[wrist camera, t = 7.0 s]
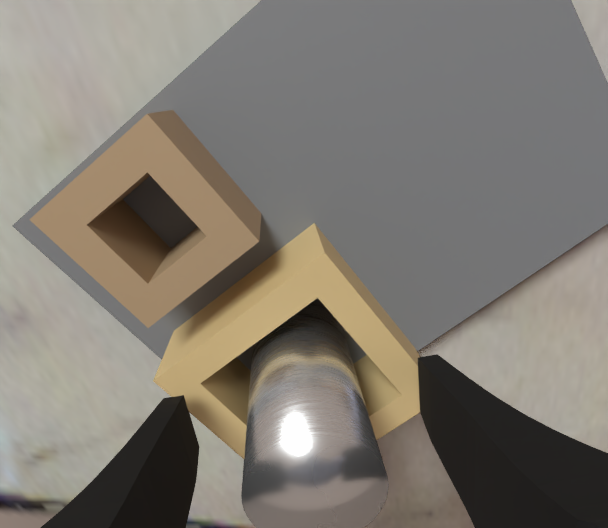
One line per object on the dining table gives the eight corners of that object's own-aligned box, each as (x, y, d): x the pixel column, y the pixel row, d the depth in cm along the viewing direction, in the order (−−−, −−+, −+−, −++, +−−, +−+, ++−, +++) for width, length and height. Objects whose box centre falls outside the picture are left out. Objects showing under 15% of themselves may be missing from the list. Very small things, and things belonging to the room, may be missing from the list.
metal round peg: (358, 344, 17) (414, 502, 10) (287, 387, 17) (296, 564, 11) (310, 279, 16) (338, 411, 9) (235, 327, 16) (210, 485, 10)
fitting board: (637, 187, 16) (740, 213, 13) (266, 438, 19) (265, 516, 16) (469, -182, 12) (554, -300, 8) (24, 219, 15) (-52, 258, 11)
